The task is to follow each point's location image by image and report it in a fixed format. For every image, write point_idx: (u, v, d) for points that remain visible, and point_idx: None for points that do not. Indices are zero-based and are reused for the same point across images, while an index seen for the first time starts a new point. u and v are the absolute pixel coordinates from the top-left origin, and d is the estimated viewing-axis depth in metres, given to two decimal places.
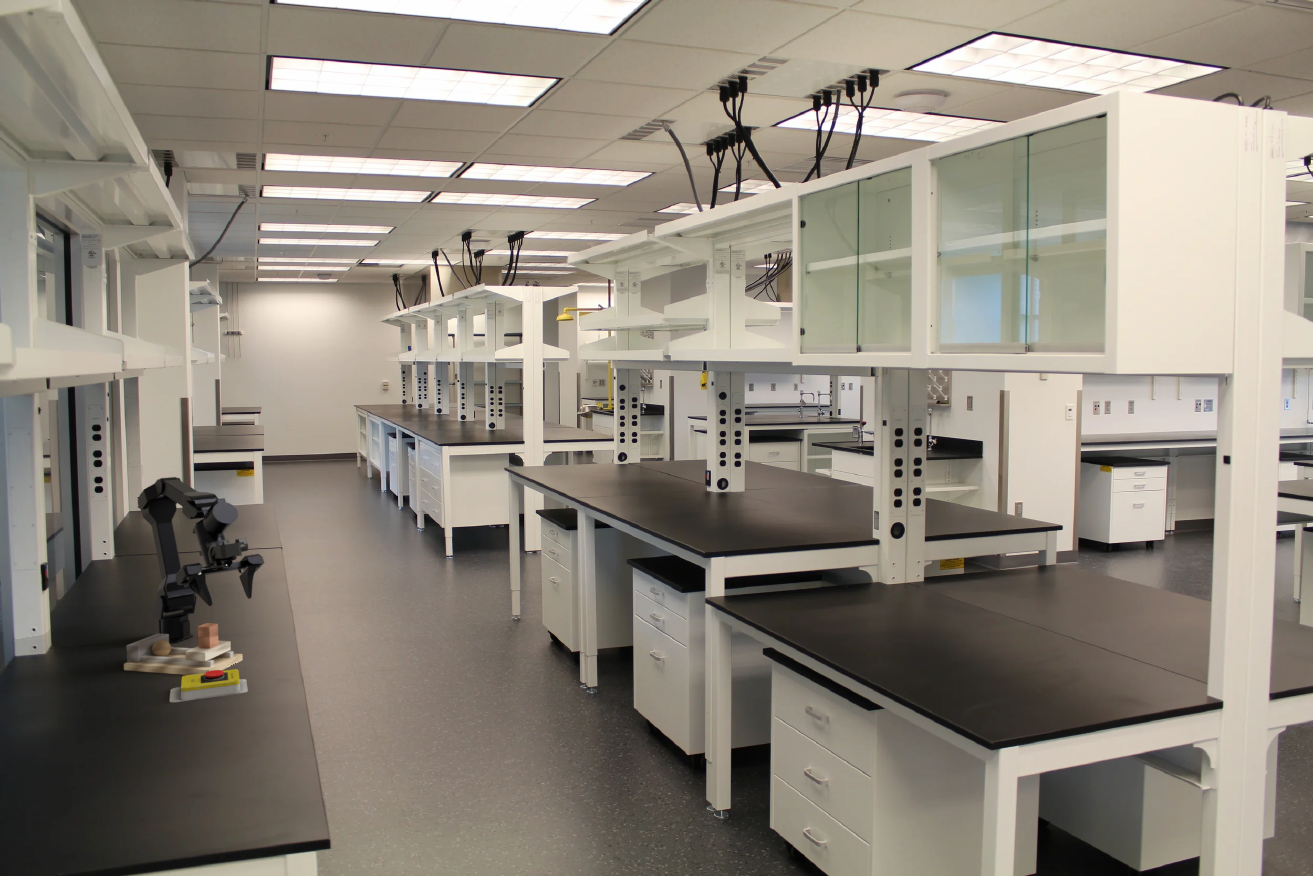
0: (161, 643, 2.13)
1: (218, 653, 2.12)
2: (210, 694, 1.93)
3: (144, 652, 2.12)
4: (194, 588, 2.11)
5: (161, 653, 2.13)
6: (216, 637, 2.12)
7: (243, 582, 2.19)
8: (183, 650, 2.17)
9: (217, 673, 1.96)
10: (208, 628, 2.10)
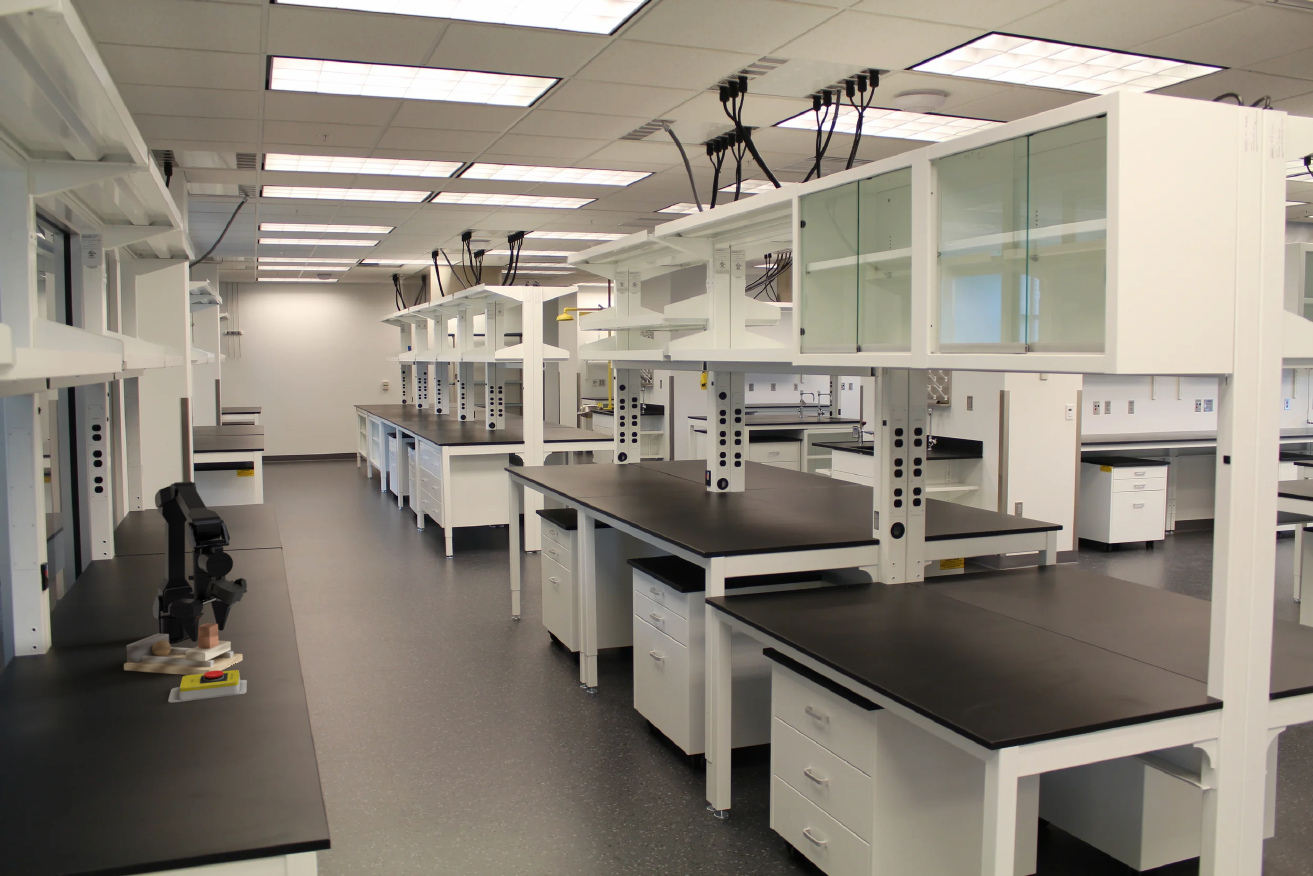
0: (161, 643, 2.13)
1: (218, 653, 2.12)
2: (209, 695, 1.92)
3: (144, 652, 2.12)
4: (182, 619, 2.06)
5: (161, 653, 2.13)
6: (216, 637, 2.12)
7: (216, 610, 2.16)
8: (183, 650, 2.17)
9: (216, 674, 1.96)
10: (208, 628, 2.10)
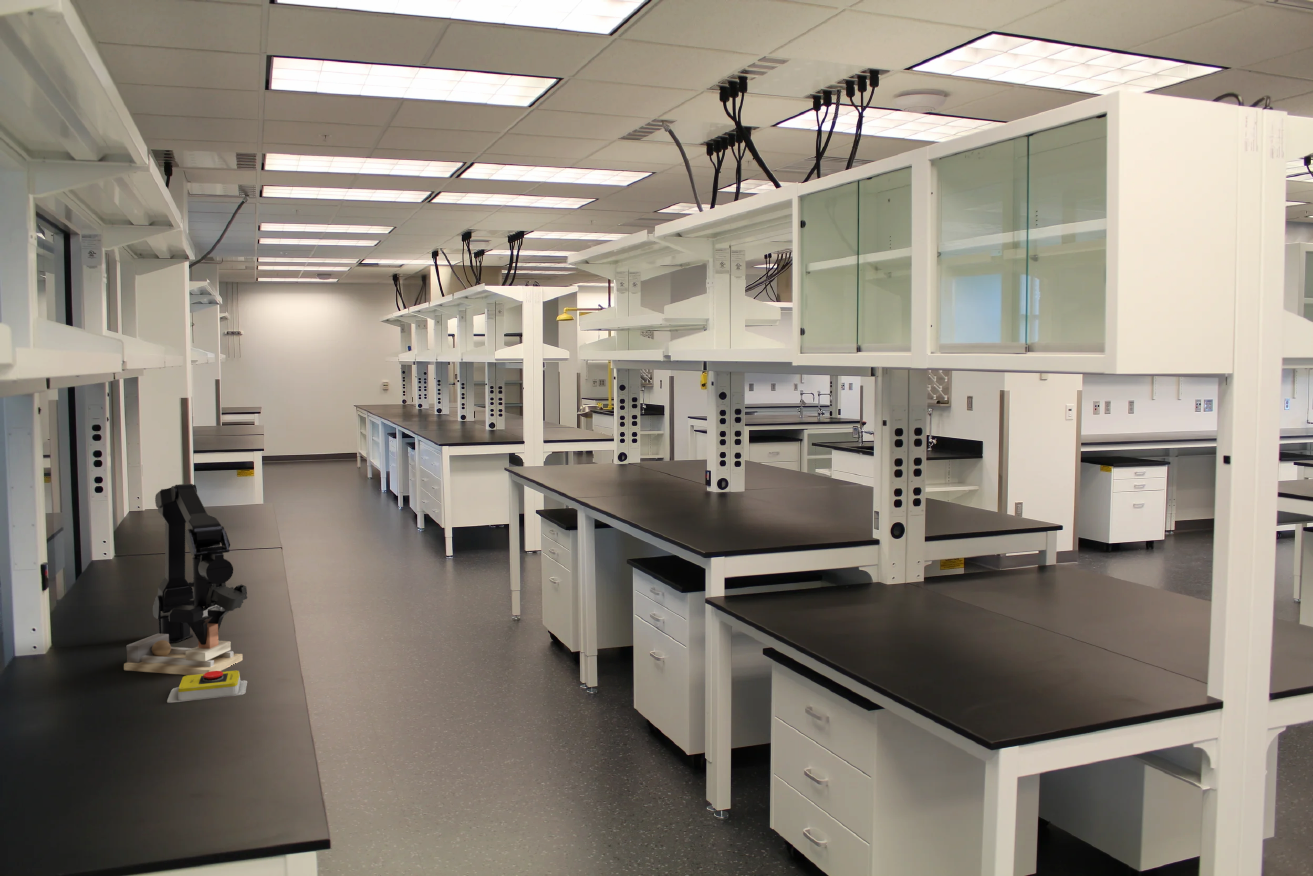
0: (161, 643, 2.13)
1: (218, 653, 2.12)
2: (207, 696, 1.92)
3: (144, 652, 2.12)
4: (191, 623, 2.08)
5: (161, 653, 2.13)
6: (216, 637, 2.12)
7: (209, 620, 2.14)
8: (183, 650, 2.17)
9: (216, 674, 1.95)
10: (208, 628, 2.10)
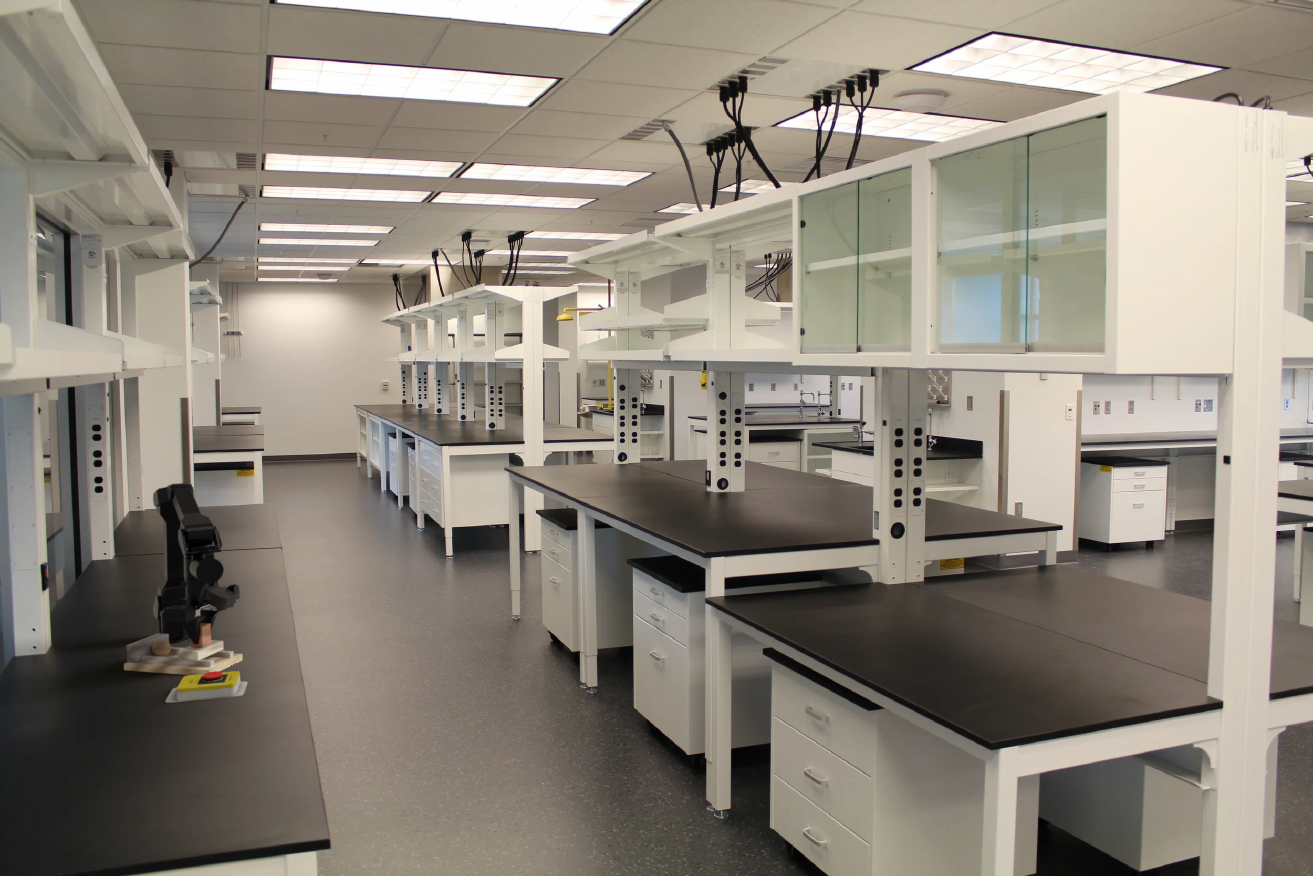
0: (161, 643, 2.13)
1: (211, 652, 2.12)
2: (205, 696, 1.91)
3: (144, 652, 2.12)
4: (184, 622, 2.09)
5: (161, 653, 2.13)
6: (209, 637, 2.13)
7: (201, 620, 2.14)
8: None
9: (215, 675, 1.95)
10: (201, 628, 2.10)
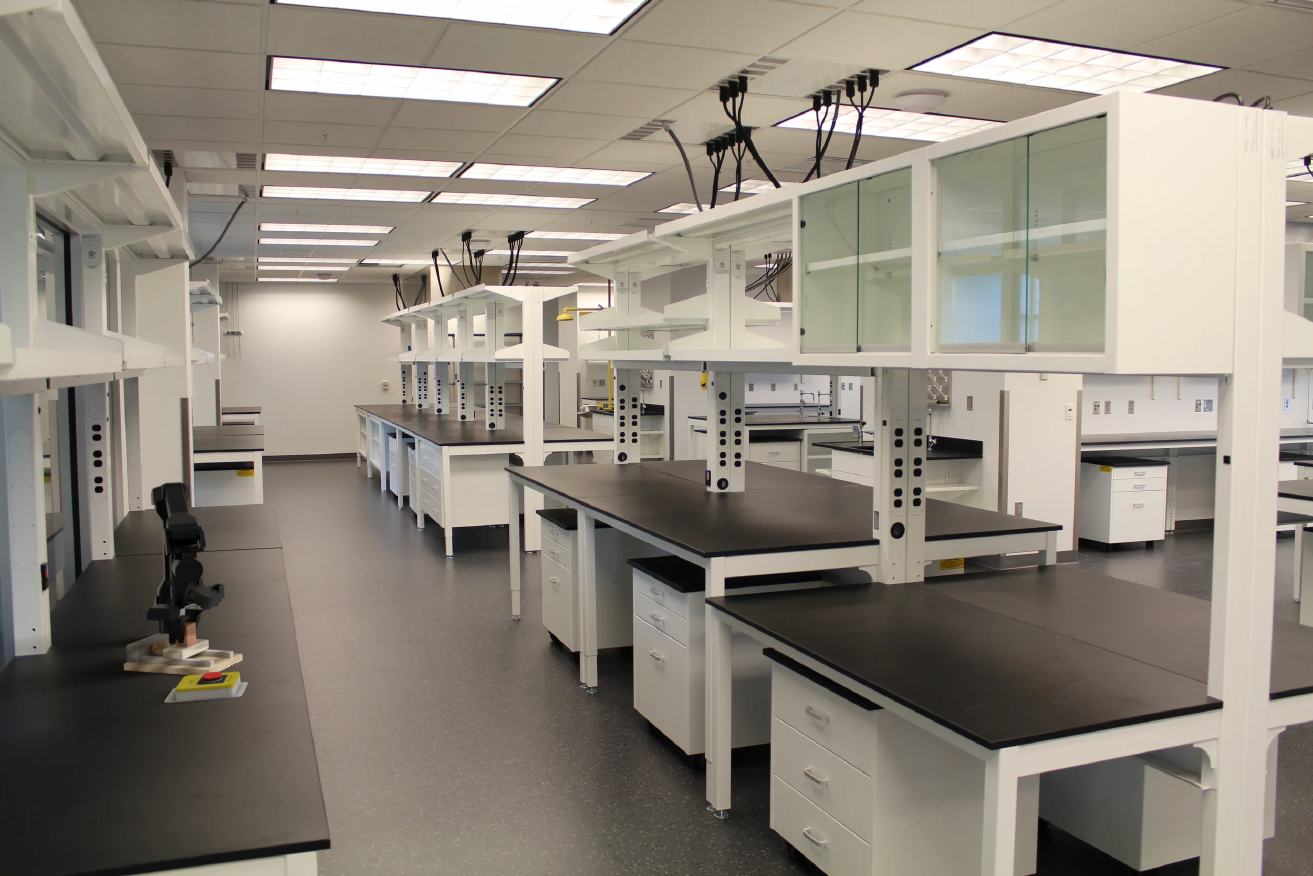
0: (161, 643, 2.13)
1: (196, 651, 2.13)
2: (204, 697, 1.91)
3: (144, 652, 2.12)
4: (168, 621, 2.09)
5: (161, 653, 2.13)
6: (194, 636, 2.13)
7: (186, 619, 2.15)
8: None
9: (214, 675, 1.95)
10: (185, 627, 2.11)
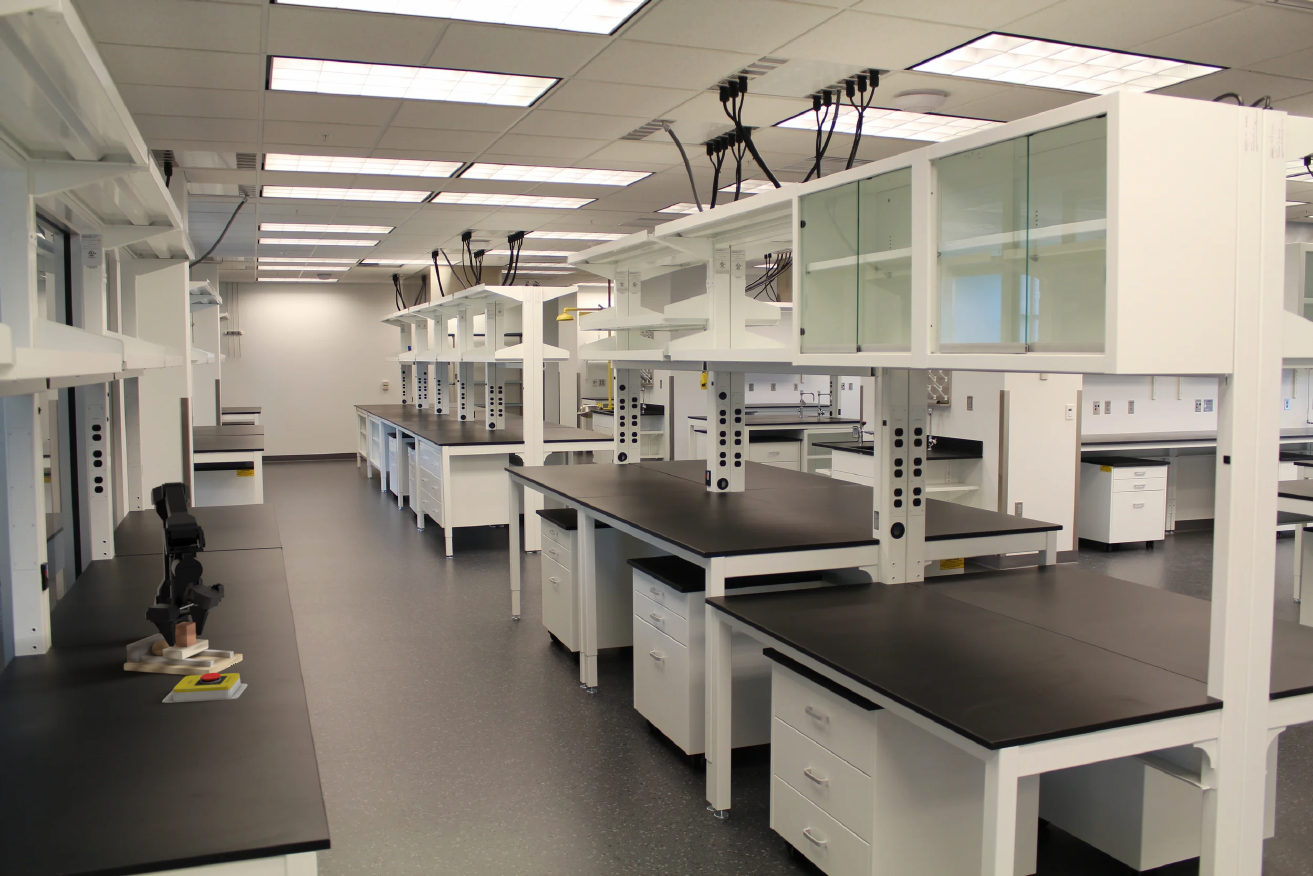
0: (161, 643, 2.13)
1: (195, 651, 2.13)
2: (200, 698, 1.90)
3: (144, 652, 2.12)
4: (159, 625, 2.07)
5: (161, 653, 2.13)
6: (193, 636, 2.13)
7: (194, 615, 2.18)
8: None
9: (212, 676, 1.94)
10: (185, 627, 2.11)
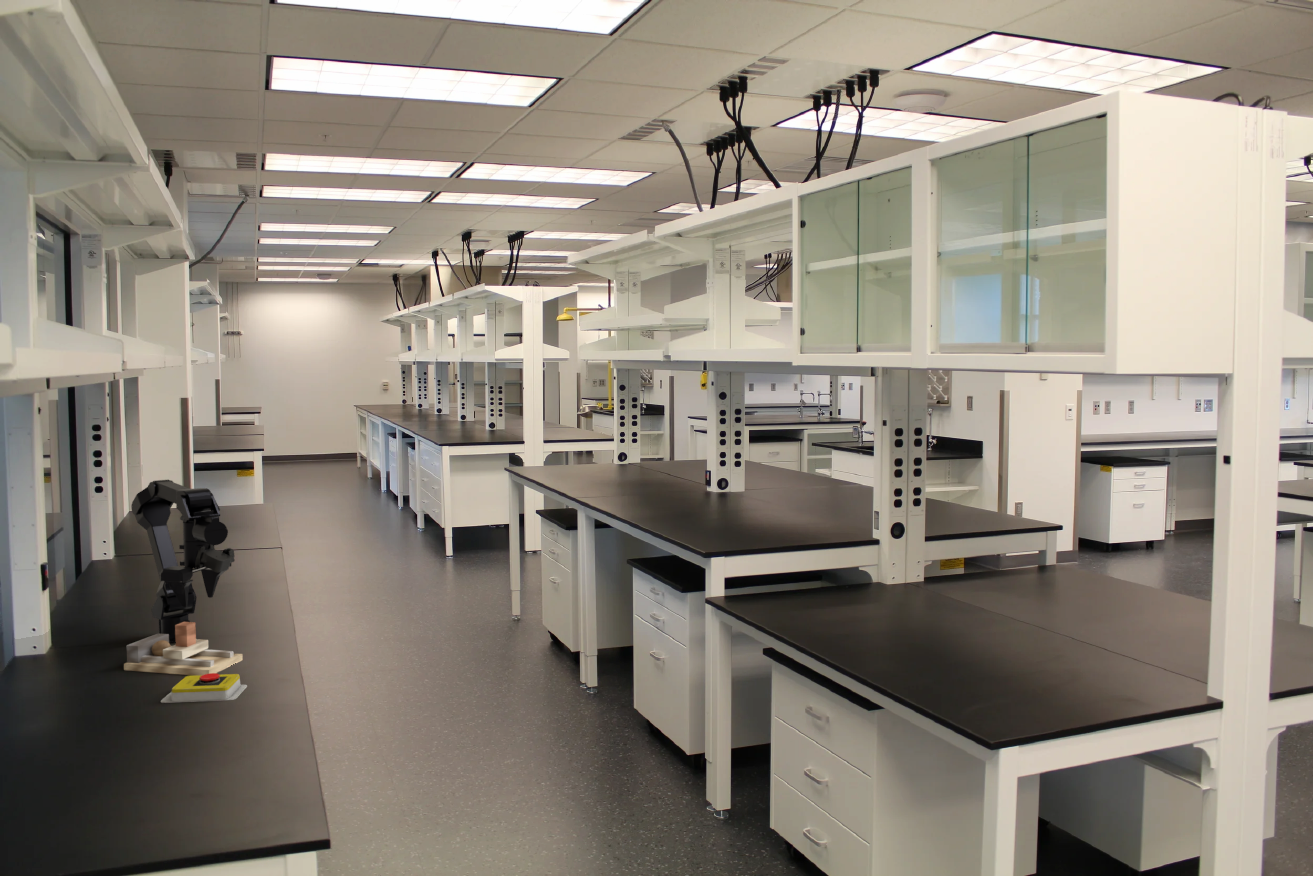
0: (161, 643, 2.13)
1: (195, 651, 2.13)
2: (198, 698, 1.90)
3: (144, 652, 2.12)
4: (173, 586, 2.19)
5: (161, 653, 2.13)
6: (193, 636, 2.13)
7: (206, 579, 2.30)
8: None
9: (211, 677, 1.94)
10: (185, 627, 2.11)
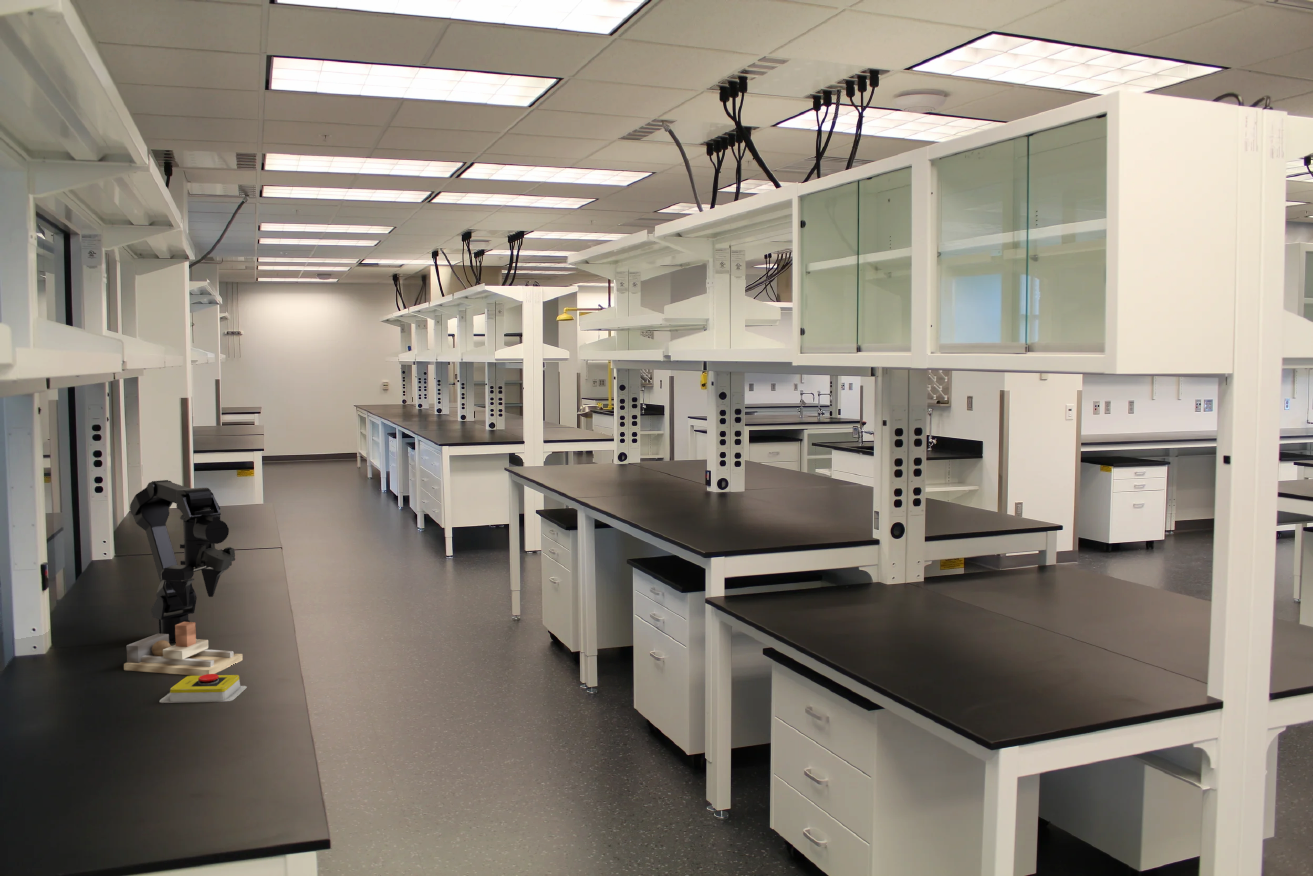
0: (161, 643, 2.13)
1: (195, 651, 2.13)
2: (196, 699, 1.90)
3: (144, 652, 2.12)
4: (174, 585, 2.19)
5: (161, 653, 2.13)
6: (193, 636, 2.13)
7: (206, 578, 2.30)
8: None
9: (209, 678, 1.93)
10: (185, 627, 2.11)
